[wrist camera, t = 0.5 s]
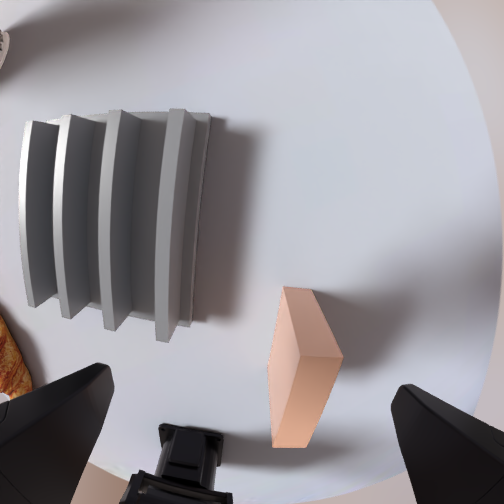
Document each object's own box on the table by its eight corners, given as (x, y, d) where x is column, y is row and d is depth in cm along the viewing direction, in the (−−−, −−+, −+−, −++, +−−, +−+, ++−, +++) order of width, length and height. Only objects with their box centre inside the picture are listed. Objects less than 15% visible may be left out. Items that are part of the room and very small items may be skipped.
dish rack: (192, 320, 20) (179, 351, 16) (51, 290, 19) (24, 309, 15) (211, 116, 16) (199, 100, 12) (53, 122, 16) (21, 116, 12)
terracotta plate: (292, 369, 21) (306, 447, 13) (267, 367, 21) (272, 447, 13) (311, 289, 19) (343, 357, 11) (282, 286, 19) (300, 355, 11)
